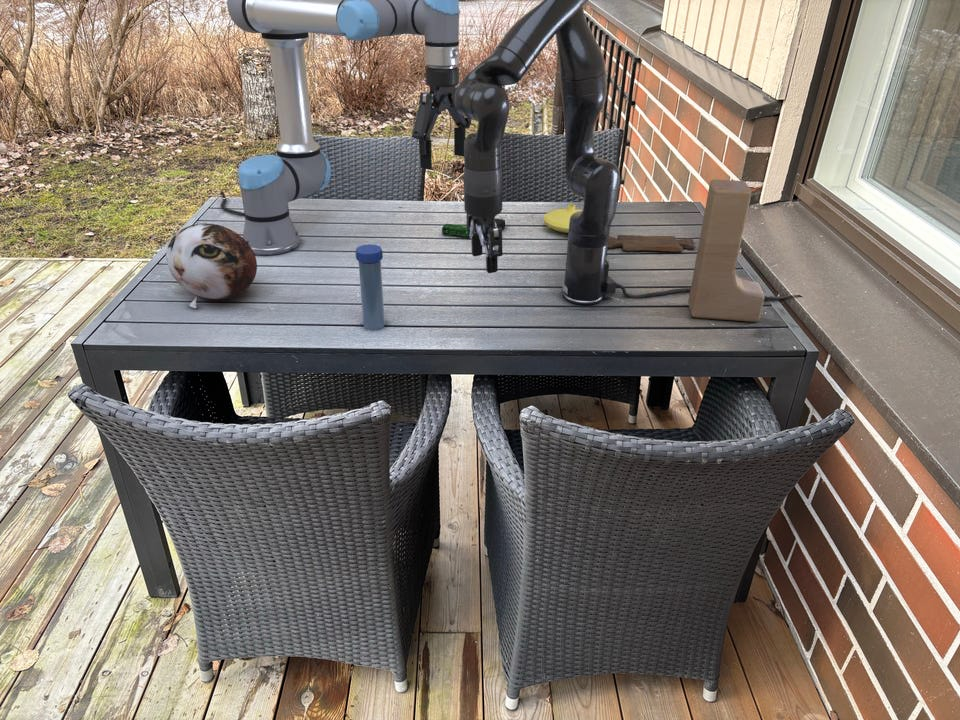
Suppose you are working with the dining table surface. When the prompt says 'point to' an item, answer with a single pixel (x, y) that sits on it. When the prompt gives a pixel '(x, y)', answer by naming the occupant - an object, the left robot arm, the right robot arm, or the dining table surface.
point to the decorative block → (723, 258)
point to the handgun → (462, 230)
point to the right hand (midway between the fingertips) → (484, 263)
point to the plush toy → (211, 261)
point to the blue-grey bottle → (372, 295)
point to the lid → (369, 253)
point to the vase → (560, 218)
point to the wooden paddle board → (650, 243)
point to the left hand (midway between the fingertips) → (443, 161)
